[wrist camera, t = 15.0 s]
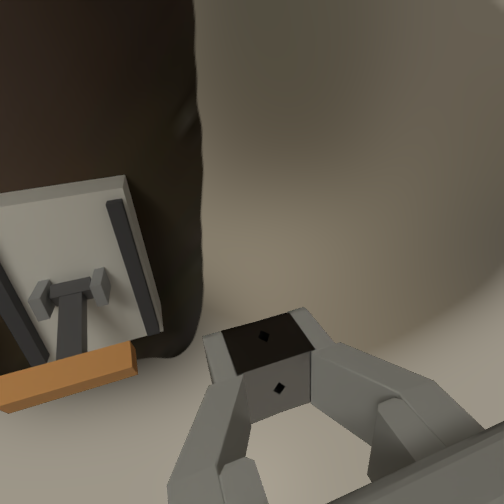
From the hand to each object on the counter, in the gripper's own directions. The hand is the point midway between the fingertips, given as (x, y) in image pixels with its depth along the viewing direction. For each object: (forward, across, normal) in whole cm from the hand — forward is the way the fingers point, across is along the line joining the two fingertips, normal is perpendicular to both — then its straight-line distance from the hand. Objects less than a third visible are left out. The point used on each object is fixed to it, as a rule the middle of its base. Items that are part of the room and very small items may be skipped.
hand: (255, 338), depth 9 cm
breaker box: (+31, +12, +10) cm, 35 cm away
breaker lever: (+24, +12, +10) cm, 28 cm away
